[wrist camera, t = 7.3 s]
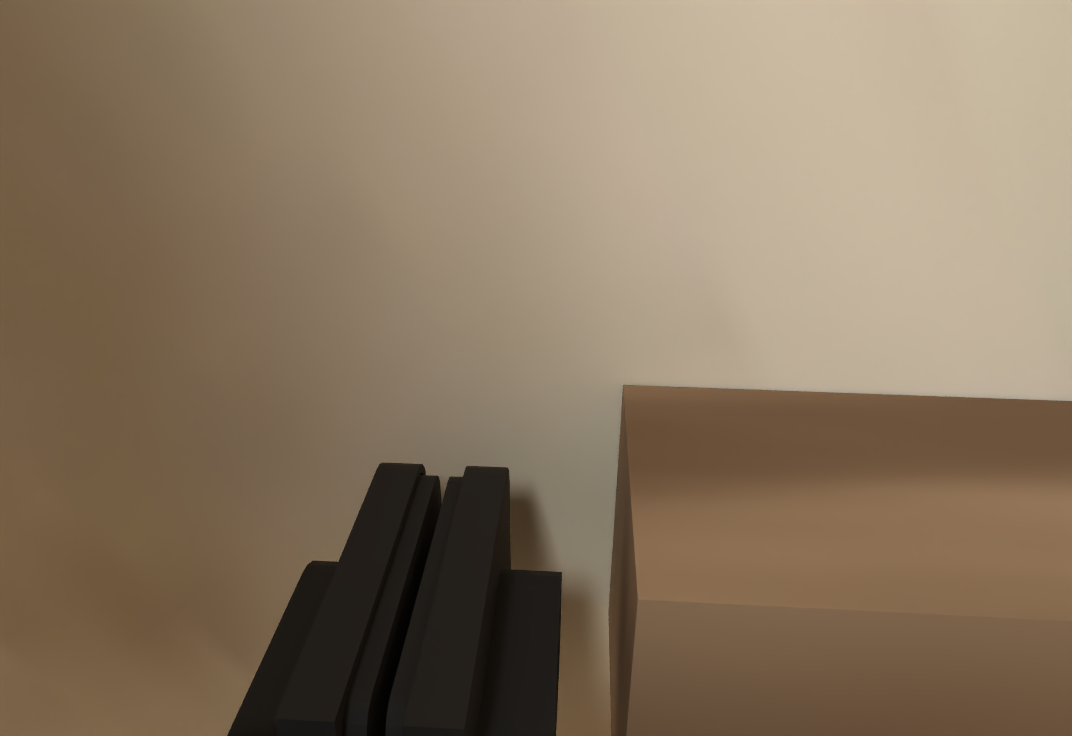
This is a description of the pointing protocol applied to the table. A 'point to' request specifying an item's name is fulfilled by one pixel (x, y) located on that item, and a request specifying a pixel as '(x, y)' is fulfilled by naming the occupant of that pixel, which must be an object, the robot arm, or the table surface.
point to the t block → (841, 565)
